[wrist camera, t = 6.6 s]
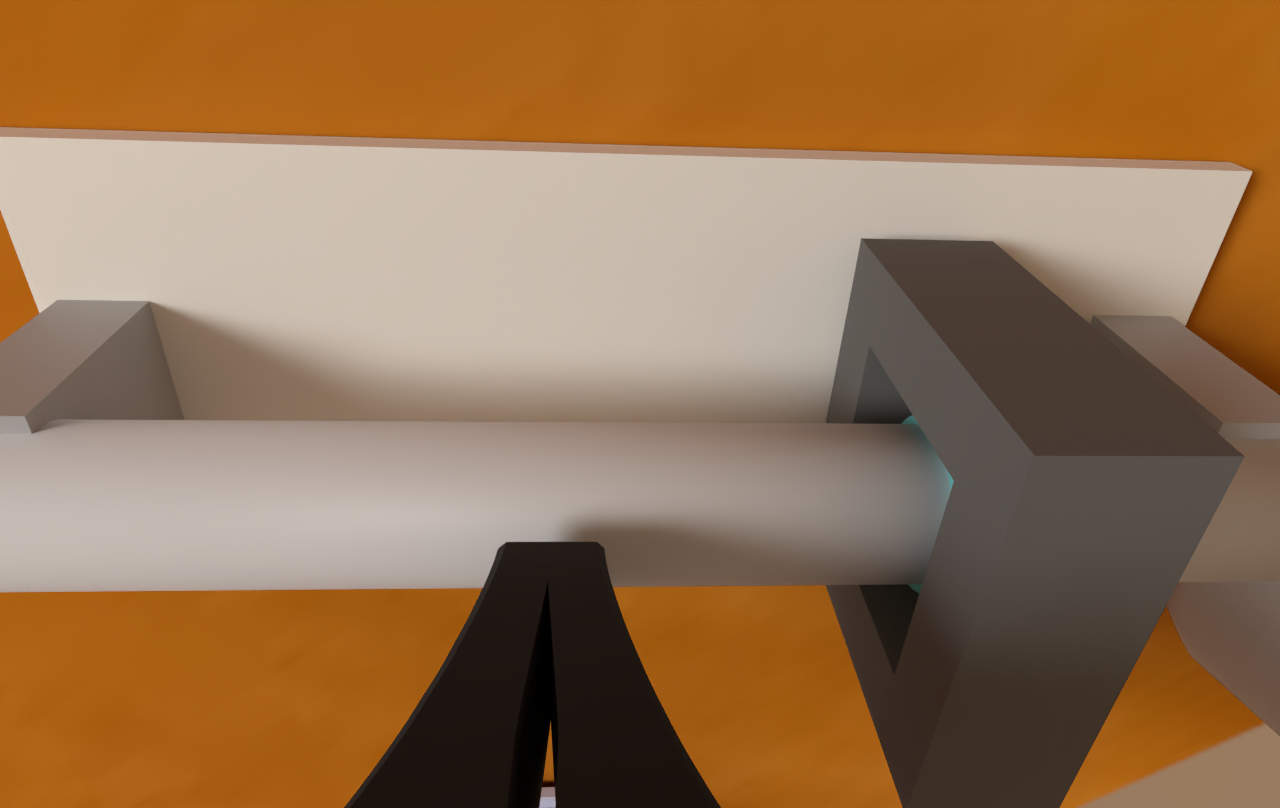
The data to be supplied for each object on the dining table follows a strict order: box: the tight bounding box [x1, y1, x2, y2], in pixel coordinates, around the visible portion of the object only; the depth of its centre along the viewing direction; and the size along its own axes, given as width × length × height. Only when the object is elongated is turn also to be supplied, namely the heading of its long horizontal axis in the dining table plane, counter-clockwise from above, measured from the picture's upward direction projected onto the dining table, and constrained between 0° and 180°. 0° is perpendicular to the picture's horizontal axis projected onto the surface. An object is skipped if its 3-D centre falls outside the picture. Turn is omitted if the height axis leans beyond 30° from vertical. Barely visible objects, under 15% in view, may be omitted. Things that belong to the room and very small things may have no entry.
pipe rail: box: [0, 127, 1280, 593], centre depth 14 cm, size 22×9×6 cm, turn 88°
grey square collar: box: [826, 238, 1245, 808], centre depth 13 cm, size 2×7×7 cm, turn 178°
